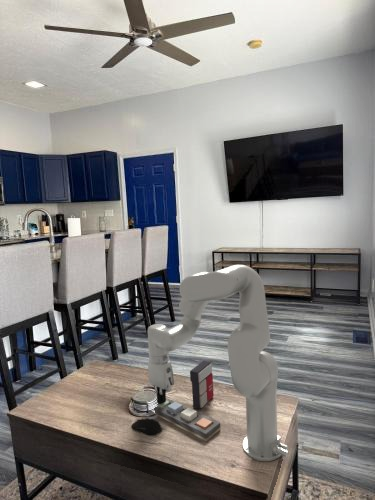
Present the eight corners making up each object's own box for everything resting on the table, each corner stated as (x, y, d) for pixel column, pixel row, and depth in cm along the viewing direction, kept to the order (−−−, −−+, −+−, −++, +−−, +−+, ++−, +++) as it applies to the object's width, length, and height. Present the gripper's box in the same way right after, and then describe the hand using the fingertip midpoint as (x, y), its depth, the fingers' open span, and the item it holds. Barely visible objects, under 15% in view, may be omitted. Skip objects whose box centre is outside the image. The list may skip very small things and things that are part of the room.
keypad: (220, 429, 124) (220, 422, 124) (206, 441, 118) (205, 433, 118) (162, 402, 144) (162, 396, 143) (148, 411, 138) (147, 405, 138)
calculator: (201, 410, 137) (199, 373, 135) (191, 407, 139) (189, 370, 137) (214, 397, 146) (213, 362, 144) (205, 394, 148) (203, 360, 146)
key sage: (169, 406, 138) (169, 401, 138) (162, 411, 135) (162, 406, 135) (162, 403, 141) (162, 398, 141) (155, 407, 138) (154, 402, 138)
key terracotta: (212, 427, 124) (212, 421, 124) (205, 432, 121) (204, 427, 121) (203, 422, 127) (203, 417, 127) (196, 428, 124) (195, 422, 124)
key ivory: (196, 416, 129) (196, 411, 128) (189, 421, 126) (189, 416, 125) (188, 412, 131) (188, 407, 131) (181, 417, 128) (181, 412, 128)
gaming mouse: (131, 419, 134) (130, 409, 133) (165, 429, 127) (164, 418, 126) (121, 429, 128) (120, 419, 128) (156, 439, 121) (155, 428, 121)
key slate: (182, 409, 133) (182, 404, 133) (175, 414, 130) (175, 409, 130) (175, 406, 136) (174, 401, 136) (167, 411, 133) (167, 406, 133)
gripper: (179, 358, 134) (182, 404, 136) (153, 349, 144) (155, 392, 146) (165, 365, 128) (168, 413, 130) (138, 355, 138) (141, 400, 140)
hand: (161, 402), depth 138 cm, fingers closed
